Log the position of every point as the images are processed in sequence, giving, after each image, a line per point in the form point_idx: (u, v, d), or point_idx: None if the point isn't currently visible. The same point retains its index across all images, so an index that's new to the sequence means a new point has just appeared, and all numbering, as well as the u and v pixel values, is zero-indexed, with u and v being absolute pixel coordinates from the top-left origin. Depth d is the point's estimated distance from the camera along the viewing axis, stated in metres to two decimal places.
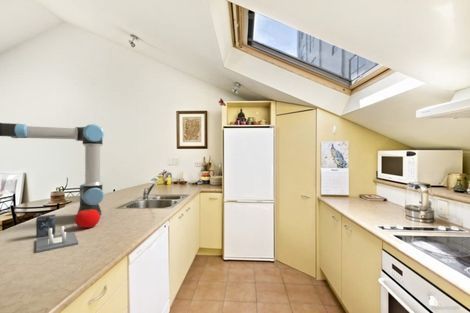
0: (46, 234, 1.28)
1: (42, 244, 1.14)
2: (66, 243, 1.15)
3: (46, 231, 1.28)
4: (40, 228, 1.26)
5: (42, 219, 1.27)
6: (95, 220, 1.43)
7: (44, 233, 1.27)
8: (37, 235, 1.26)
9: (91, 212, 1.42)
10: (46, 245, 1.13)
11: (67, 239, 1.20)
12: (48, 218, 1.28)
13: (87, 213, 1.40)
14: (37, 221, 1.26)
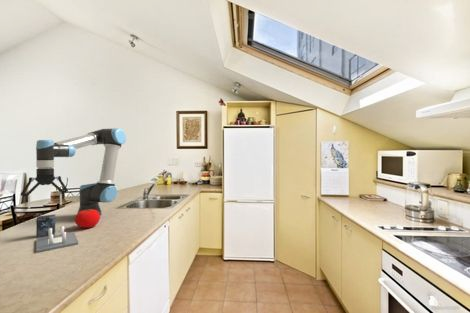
0: (46, 234, 1.28)
1: (42, 244, 1.14)
2: (66, 243, 1.15)
3: (46, 231, 1.28)
4: (40, 228, 1.26)
5: (42, 219, 1.27)
6: (95, 220, 1.43)
7: (44, 233, 1.27)
8: (37, 235, 1.26)
9: (91, 212, 1.42)
10: (46, 245, 1.13)
11: (67, 239, 1.20)
12: (48, 218, 1.28)
13: (87, 213, 1.40)
14: (37, 221, 1.26)
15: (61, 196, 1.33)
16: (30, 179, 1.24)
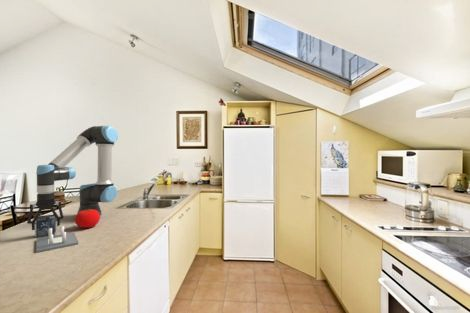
0: (46, 234, 1.28)
1: (42, 244, 1.14)
2: (66, 243, 1.15)
3: (46, 231, 1.28)
4: (40, 228, 1.26)
5: (42, 219, 1.27)
6: (95, 220, 1.43)
7: (44, 233, 1.27)
8: (37, 235, 1.26)
9: (91, 212, 1.42)
10: (46, 245, 1.13)
11: (67, 239, 1.20)
12: (48, 218, 1.28)
13: (87, 213, 1.40)
14: (37, 221, 1.26)
15: (56, 223, 1.32)
16: (31, 206, 1.25)
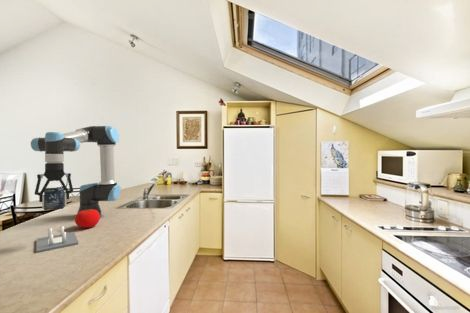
0: (54, 207, 1.17)
1: (42, 244, 1.14)
2: (66, 243, 1.15)
3: (55, 204, 1.17)
4: (48, 200, 1.16)
5: (50, 190, 1.16)
6: (95, 220, 1.43)
7: (52, 206, 1.17)
8: (45, 208, 1.15)
9: (91, 212, 1.42)
10: (46, 245, 1.13)
11: (67, 239, 1.20)
12: (57, 189, 1.18)
13: (87, 213, 1.40)
14: (45, 192, 1.15)
15: (66, 196, 1.21)
16: (39, 176, 1.15)
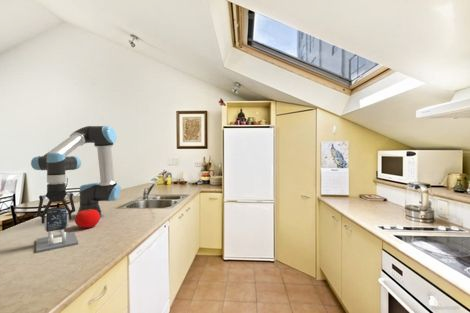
0: (57, 228, 1.17)
1: (42, 244, 1.14)
2: (66, 243, 1.15)
3: (57, 225, 1.17)
4: (50, 222, 1.16)
5: (52, 211, 1.16)
6: (95, 220, 1.43)
7: (55, 227, 1.17)
8: (47, 229, 1.15)
9: (91, 212, 1.42)
10: (46, 245, 1.13)
11: (67, 239, 1.20)
12: (59, 210, 1.18)
13: (87, 213, 1.40)
14: (47, 214, 1.15)
15: (68, 217, 1.21)
16: (41, 198, 1.14)
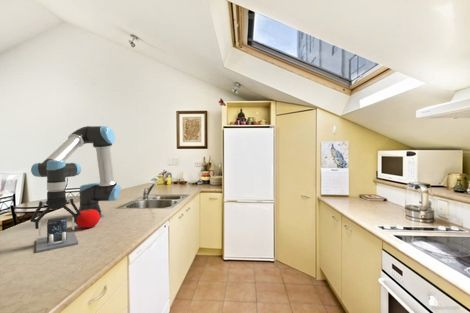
0: (57, 239, 1.17)
1: (42, 244, 1.14)
2: (66, 243, 1.15)
3: (58, 236, 1.17)
4: (51, 233, 1.16)
5: (53, 222, 1.16)
6: (95, 220, 1.43)
7: (56, 238, 1.17)
8: (48, 240, 1.15)
9: (91, 212, 1.42)
10: (46, 245, 1.13)
11: (67, 239, 1.20)
12: (60, 221, 1.18)
13: (87, 213, 1.40)
14: (48, 225, 1.15)
15: (73, 220, 1.23)
16: (40, 203, 1.14)
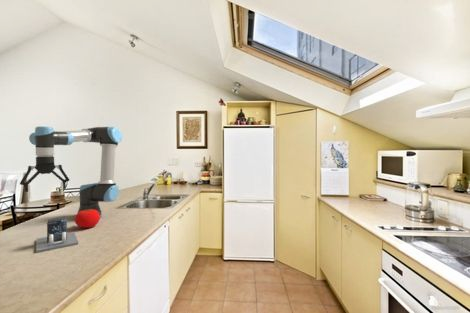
0: (57, 239, 1.17)
1: (42, 244, 1.14)
2: (66, 243, 1.15)
3: (58, 236, 1.17)
4: (51, 233, 1.16)
5: (53, 222, 1.16)
6: (95, 220, 1.43)
7: (56, 238, 1.17)
8: (48, 240, 1.15)
9: (91, 212, 1.42)
10: (46, 245, 1.13)
11: (67, 239, 1.20)
12: (60, 221, 1.18)
13: (87, 213, 1.40)
14: (48, 225, 1.15)
15: (62, 185, 1.28)
16: (29, 167, 1.19)
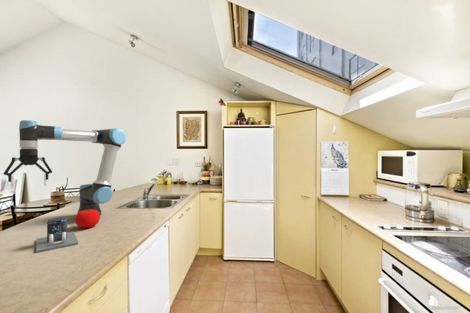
0: (57, 239, 1.17)
1: (42, 244, 1.14)
2: (66, 243, 1.15)
3: (58, 236, 1.17)
4: (51, 233, 1.16)
5: (53, 222, 1.16)
6: (95, 220, 1.43)
7: (56, 238, 1.17)
8: (48, 240, 1.15)
9: (91, 212, 1.42)
10: (46, 245, 1.13)
11: (67, 239, 1.20)
12: (60, 221, 1.18)
13: (87, 213, 1.40)
14: (48, 225, 1.15)
15: (45, 177, 1.34)
16: (13, 159, 1.25)
